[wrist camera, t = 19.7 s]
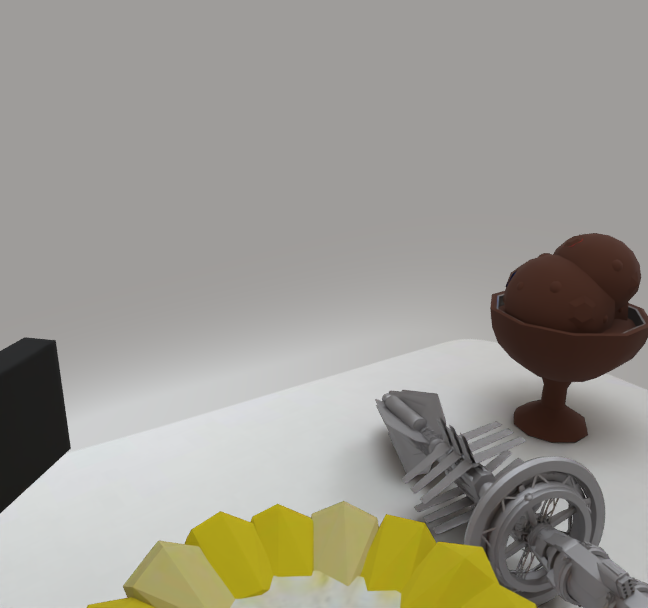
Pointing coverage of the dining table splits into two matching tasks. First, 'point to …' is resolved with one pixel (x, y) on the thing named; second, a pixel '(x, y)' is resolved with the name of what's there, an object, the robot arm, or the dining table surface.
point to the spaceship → (512, 506)
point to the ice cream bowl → (569, 325)
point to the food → (314, 566)
